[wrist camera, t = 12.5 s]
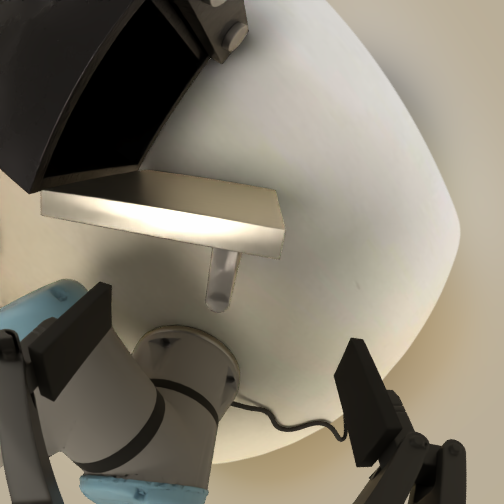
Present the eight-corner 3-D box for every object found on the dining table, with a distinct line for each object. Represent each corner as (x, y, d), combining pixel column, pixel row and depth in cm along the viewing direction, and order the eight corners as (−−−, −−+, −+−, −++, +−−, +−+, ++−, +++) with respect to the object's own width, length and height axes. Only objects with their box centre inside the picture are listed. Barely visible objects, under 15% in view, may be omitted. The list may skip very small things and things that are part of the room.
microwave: (255, 34, 27) (243, -66, 10) (153, 182, 32) (52, 214, 15) (132, -16, 24) (62, -86, 7) (49, 114, 30) (-59, 110, 13)
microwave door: (263, 251, 34) (260, 345, 17) (138, 228, 34) (44, 292, 17) (275, 190, 32) (286, 229, 15) (144, 169, 32) (40, 189, 15)
